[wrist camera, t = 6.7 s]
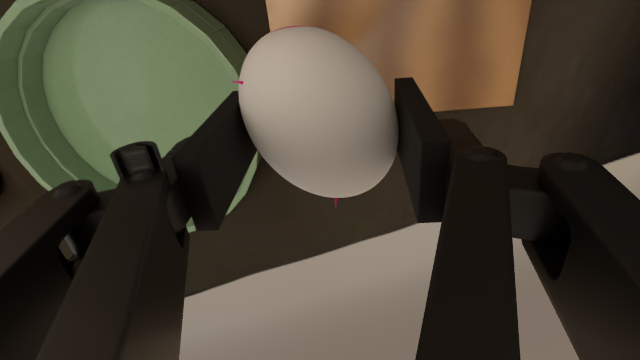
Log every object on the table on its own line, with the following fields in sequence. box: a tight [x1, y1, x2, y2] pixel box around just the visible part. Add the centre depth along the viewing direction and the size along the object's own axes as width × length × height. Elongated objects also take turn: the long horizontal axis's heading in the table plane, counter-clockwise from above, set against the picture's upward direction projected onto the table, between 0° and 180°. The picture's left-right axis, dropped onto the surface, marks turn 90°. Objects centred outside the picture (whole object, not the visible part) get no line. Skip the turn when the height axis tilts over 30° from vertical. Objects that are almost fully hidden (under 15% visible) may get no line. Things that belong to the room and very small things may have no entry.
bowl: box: [0, 0, 262, 232], centre depth 31 cm, size 21×21×5 cm
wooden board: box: [265, 0, 532, 112], centre depth 28 cm, size 20×14×1 cm
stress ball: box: [232, 25, 399, 206], centre depth 16 cm, size 8×8×7 cm
